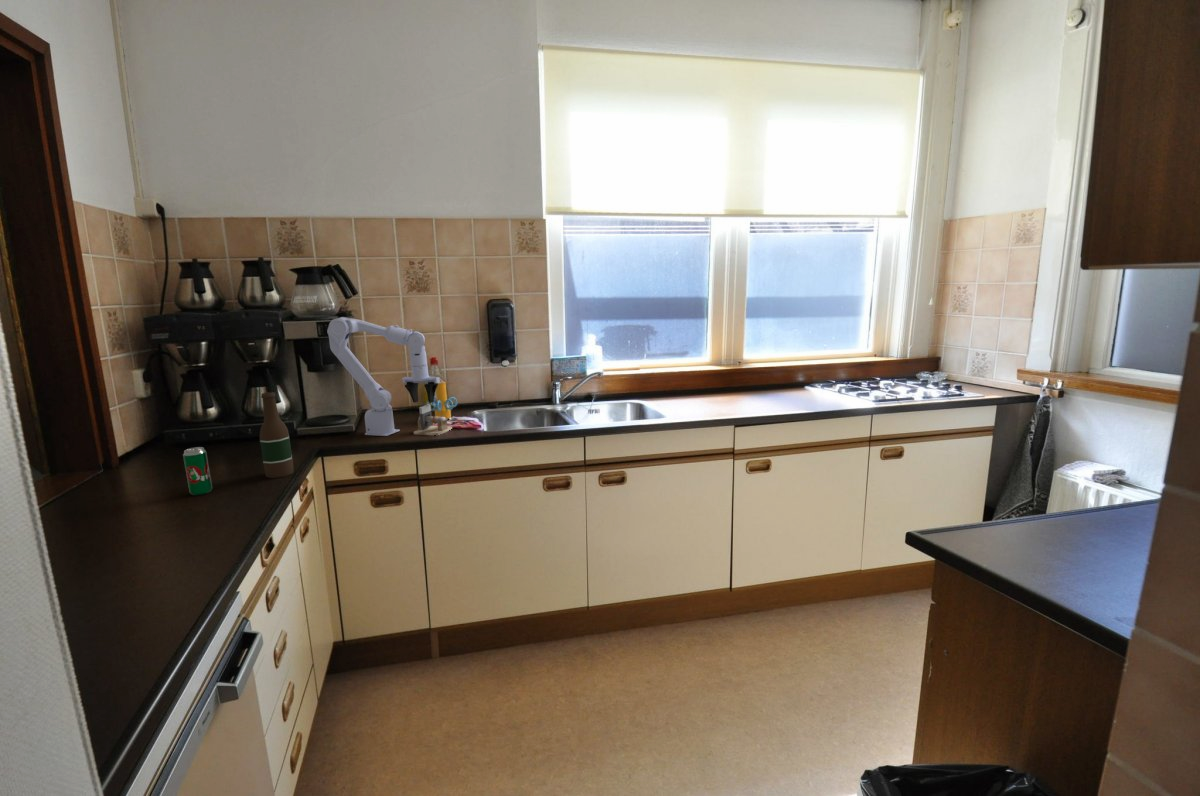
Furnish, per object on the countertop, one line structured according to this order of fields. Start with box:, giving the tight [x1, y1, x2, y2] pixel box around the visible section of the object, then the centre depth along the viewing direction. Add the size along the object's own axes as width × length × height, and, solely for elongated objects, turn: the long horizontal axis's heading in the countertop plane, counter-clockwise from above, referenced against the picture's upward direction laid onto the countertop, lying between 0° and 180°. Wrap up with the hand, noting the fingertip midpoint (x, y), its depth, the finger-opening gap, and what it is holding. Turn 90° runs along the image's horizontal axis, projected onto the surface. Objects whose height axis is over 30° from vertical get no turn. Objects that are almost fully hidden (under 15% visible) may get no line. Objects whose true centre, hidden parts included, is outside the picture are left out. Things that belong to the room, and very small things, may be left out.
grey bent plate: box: [418, 403, 434, 429], centre depth 212 cm, size 1×5×8 cm, turn 162°
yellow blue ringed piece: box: [426, 381, 458, 418], centre depth 230 cm, size 12×10×15 cm
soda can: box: [182, 446, 213, 496], centre depth 155 cm, size 5×5×12 cm
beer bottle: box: [259, 391, 294, 479], centre depth 167 cm, size 8×8×24 cm
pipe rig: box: [413, 415, 453, 437], centre depth 212 cm, size 10×9×6 cm
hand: (423, 402), depth 214 cm, fingers open, 6 cm apart
